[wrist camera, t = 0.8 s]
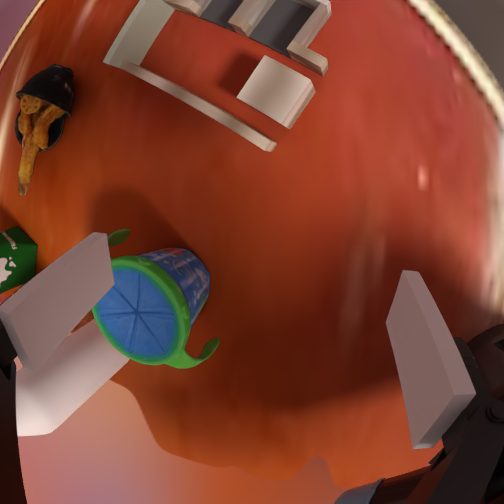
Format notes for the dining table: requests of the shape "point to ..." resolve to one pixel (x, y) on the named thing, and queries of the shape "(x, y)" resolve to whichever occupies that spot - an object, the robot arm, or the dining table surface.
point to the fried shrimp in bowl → (42, 116)
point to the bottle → (65, 380)
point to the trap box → (233, 18)
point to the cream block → (277, 91)
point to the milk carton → (16, 258)
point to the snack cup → (154, 305)
